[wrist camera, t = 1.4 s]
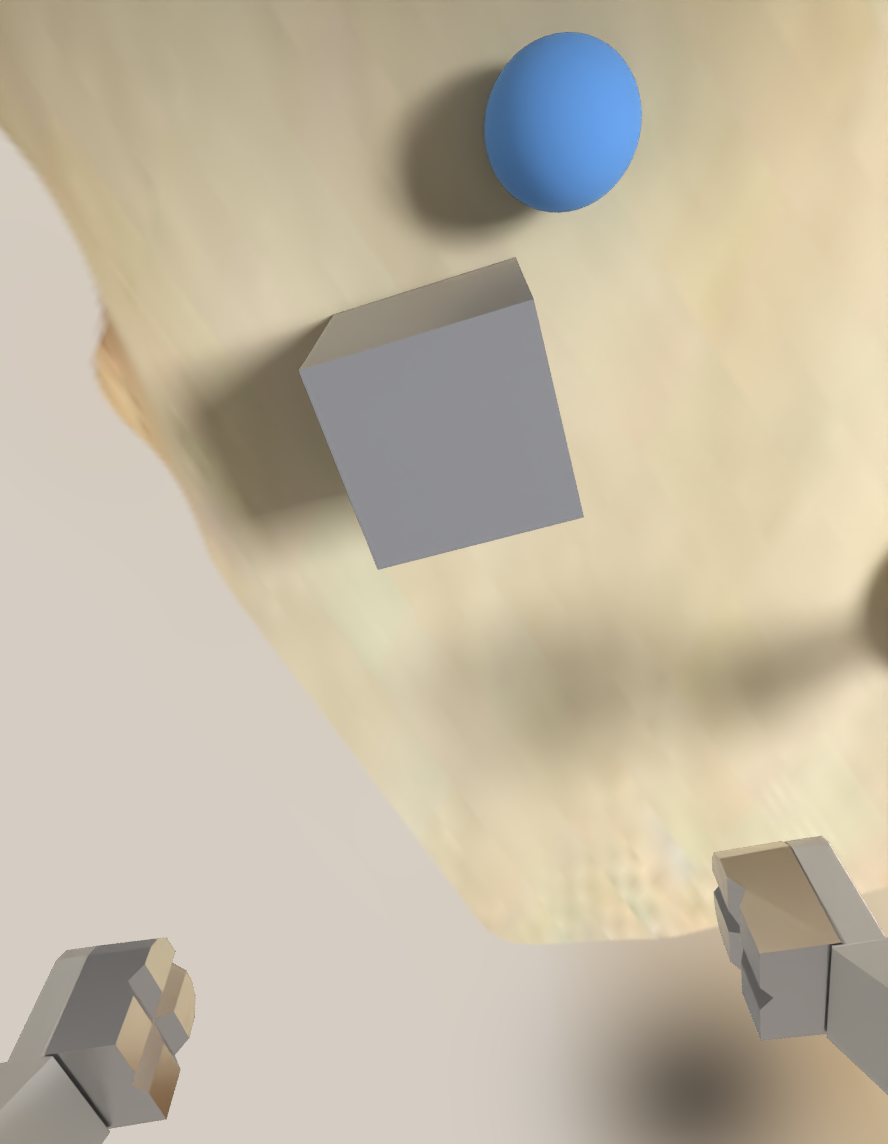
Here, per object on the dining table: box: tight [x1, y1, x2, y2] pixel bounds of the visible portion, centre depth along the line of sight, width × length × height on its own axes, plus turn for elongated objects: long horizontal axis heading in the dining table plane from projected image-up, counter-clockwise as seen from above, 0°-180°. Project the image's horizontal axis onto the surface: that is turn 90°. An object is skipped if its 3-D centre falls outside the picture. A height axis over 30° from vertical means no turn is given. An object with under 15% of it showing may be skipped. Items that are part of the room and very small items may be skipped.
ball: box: [484, 32, 642, 213], centre depth 25 cm, size 5×5×5 cm
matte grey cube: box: [299, 258, 584, 570], centre depth 28 cm, size 7×7×8 cm
